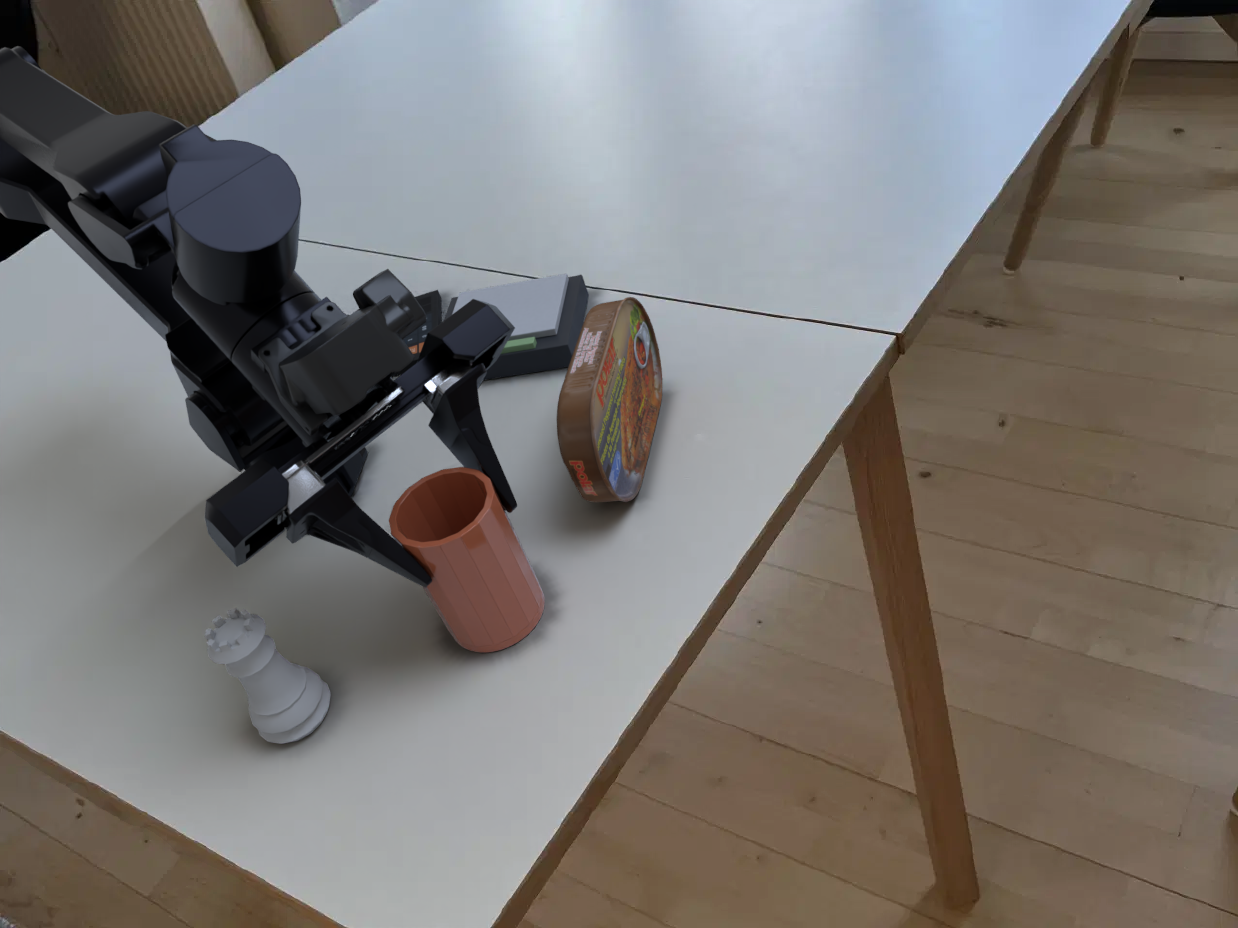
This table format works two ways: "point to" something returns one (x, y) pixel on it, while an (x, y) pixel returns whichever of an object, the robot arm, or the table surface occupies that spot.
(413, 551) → the cup
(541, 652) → the table surface
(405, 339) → the calculator
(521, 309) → the scale
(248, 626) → the rook chess piece
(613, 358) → the tin
